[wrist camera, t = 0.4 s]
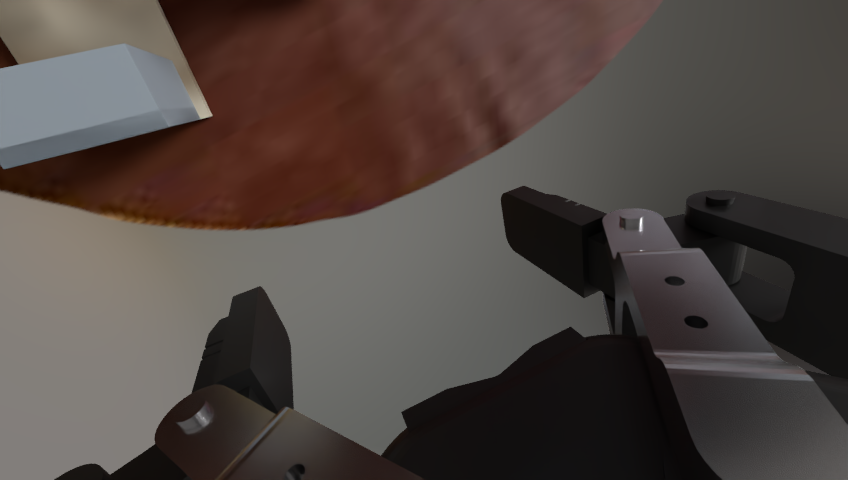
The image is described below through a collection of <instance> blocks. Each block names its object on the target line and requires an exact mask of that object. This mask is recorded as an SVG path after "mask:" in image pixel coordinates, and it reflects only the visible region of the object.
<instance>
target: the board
mask: <svg viewBox="0 0 848 480" xmlns="http://www.w3.org/2000/svg"><path fill="white" fill-rule="evenodd" d="M0 37H1V38H2V40H3V41H4V43H5V44H6V46H7V47H8V49H9V50H10V52H11V53H12V55H13V56H14V58H15V59H16V61H17V62H18V64H19V65H20V64H25V63H30V62H35V61H40V60H45V59H50V58H55V57H59V56H64V55H69V54H74V53H79V52H84V51H89V50H94V49H99V48H103V47H108V46H113V45H118V44H123V43H125V44H128V45H131V46H133V47H136V48H139V49H142V50H144V51H147V52H150V53H153V54H155V55H158V56H161V57H164V58H166V59H169V60H172V62H173V64H174V66H175V68H176V70H177V72H178V74H179V76H180V78H181V80H182V82H183V84H184V86H185V88H186V90H187V92H188V94H189V96H190V98H191V100H192V102H193V104H194V106H195V109H196V111H197V113H198V115H199V117H200V119H204V118H208V117H211V116H212V114H211V111H210V109H209V107H208V105H207V103H206V101H205V99H204V97H203V95H202V92H201V90H200V88H199V86H198V84H197V82H196V80H195V78H194V76H193V73H192V71H191V69H190V67H189V65H188V63H187V61H186V59H185V57H184V54H183V52H182V50H181V48H180V46H179V44H178V42H177V40H176V38H175V35H174V33H173V31H172V29H171V27H170V25H169V23H168V21H167V18H166V16H165V14H164V12H163V10H162V8H161V6H160V4H159V2H158V0H0ZM180 125H181V124H180ZM176 126H177V125H176ZM153 132H154V131H153ZM126 139H127V138H126ZM103 145H104V144H103ZM99 146H100V145H99Z"/></svg>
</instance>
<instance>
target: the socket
mask: <svg viewBox="0 0 848 480" xmlns="http://www.w3.org/2000/svg"><path fill="white" fill-rule="evenodd" d="M196 120H200V117H199V115H198V113H197V111H196V109H195V106H194V104H193V102H192V100H191V98H190V96H189V94H188V92H187V90H186V88H185V86H184V84H183V82H182V80H181V78H180V76H179V74H178V72H177V70H176V68H175V66H174V64H173V62H172V60H169V59H166V58H164V57H161V56H158V55H155V54H153V53H150V52H147V51H144V50H142V49H139V48H136V47H133V46H131V45H128V44H125V43H123V44H118V45H113V46H108V47H103V48H99V49H94V50H89V51H84V52H79V53H74V54H69V55H64V56H59V57H55V58H50V59H45V60H40V61H35V62H30V63H25V64H20V65H15V66H10V67H6V68H1V69H0V165H1V166H2V168H3V169H7V168H12V167H16V166H20V165H24V164H28V163H32V162H36V161H40V160H44V159H48V158H52V157H56V156H60V155H64V154H68V153H72V152H76V151H80V150H84V149H88V148H92V147H96V146H99V145H103V144H107V143H111V142H115V141H119V140H123V139H126V138H130V137H134V136H138V135H142V134H146V133H150V132H153V131H157V130H161V129H165V128H169V127H173V126H176V125H180V124H184V123H188V122H192V121H196Z"/></svg>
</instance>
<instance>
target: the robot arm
mask: <svg viewBox="0 0 848 480" xmlns="http://www.w3.org/2000/svg"><path fill="white" fill-rule="evenodd" d="M501 205H502V212H503V219H504V226H505V232H506V238H507V241H508V243H509V245H510V246H511V248H512V249H513V250H514V251H515V252H516V253H518V254H519V255H521V256H522V257H524V258H525V259H527V260H528V261H530V262H531V263H533V264H534V265H536V266H537V267H539V268H540V269H542V270H543V271H545V272H546V273H547V274H549V275H551V276H552V277H553V278H555V279H556V280H558V281H559V282H561V283H562V284H564V285H565V286H567V287H568V288H570V289H571V290H573V291H574V292H576V293H577V294H579V295H580V296H582V297H583V298H585V297H587V296H589V295H591V294H594V293H596V292H598V291H602V292H603V305H604V310H605V314H606V319H607V323H608V327H609V332H610V334H609V335H596V336H589V337H583V336H582V335H580V334H579V333H578V332H577V331H575V330H574V329H573V328H572V327H569V328H567V329H566V330H563V331H561V332H559V333H557V334H555V335H553V336H551V337H549V338H547V339H545V340H543V341H541V342H539V343H537V344H535V345H533V346H532V347H531V348H530V349H529V350H528V351H526V352H525V353H524V354H523V355H522V356H520V357H519V358H518V359H517V360H516V361H515V362H514V363H512V364H511V365H510V366H509V367H508V368H507V369H506V370H504V371H503V372H502V373H501V374H499V375H498V376H495V377H492V378H488V379H484V380H481V381H477V382H473V383H469V384H465V385H461V386H457V387H454V388H449V389H446V390H444V391H442V392H440V393H438V394H436V395H435V396H432V397H430V398H428V399H426V400H424V401H423V402H421V403H418V404H416V405H414V406H413V407H410V408H409V409H407V410H405V411H403V412H402V415H403V418H404V420H405V423H406V426H407V428H406V429H405V430H404V431H403V432H402V433H400V434H399V435H398V436H397V437H396V438H395V439H394V440H393V442H392V443H391V444H390V445H389V446H388V447H387V449H386V450H385V451H384V453H383V454H382V455H381V456H380V455H378V454H376V453H374V452H372V451H371V450H368V449H367V448H364V447H363V446H361V445H359V444H357V443H355V442H354V441H352V440H350V439H348V438H346V437H344V436H342V435H340V434H338V433H337V432H334V431H333V430H331V429H329V428H327V427H325V426H323V425H321V424H320V423H318V422H316V421H314V420H312V419H310V418H308V417H306V416H305V415H303V414H301V413H299V412H297V411H295V410H294V407H293V385H292V364H291V345H290V340H289V337H288V334H287V332H286V329H285V327H284V325H283V323H282V322H281V320H280V318H279V316H278V314H277V312H276V310H275V309H274V307H273V305H272V303H271V301H270V299H269V298H268V296H267V294H266V292H265V291H264V289H263V288H262V287H260V286H259V287H257V288H254V289H252V290H249V291H247V292H244V293H241V294H238V295H236V296H234V297H233V299H232V303H231V308H230V312H229V316H228V317H226V318H223V319H221V320H219V322H218V323H217V324H216V325H215V327H214V328H213V329H212V331H211V332H210V333H209V335H208V338H207V342H206V345H205V348H206V349H205V350H204V352H203V356H202V359H203V360H202V361H201V363H200V366H199V370H198V373H197V376H196V380H195V383H194V387H193V390H192V394H190V395H189V396H187V397H186V398H184V399H183V400H181V401H180V402H179V403H178V404H177V405H175V406H174V407H173V408H172V409H171V410H170V411H169V412H168V413H167V415H166V416H165V417H164V418H163V420H162V421H161V423H160V424H159V426H158V428H157V430H156V433H155V445H153V446H152V447H151V448H149V449H148V450H146V451H145V452H143V453H142V454H140V455H139V456H138V457H136V458H134V459H133V460H131V461H130V462H128V463H127V464H125V465H124V466H123V467H121V468H120V469H118V470H117V471H115V472H114V473H112V474H111V475H110V474H108V473H107V472H106V471H105V470H104V469H103V468H102V467H101V466H99V465H97V464H86V465H82V466H79V467H77V468H74V469H72V470H70V471H68V472H66V473H64V474H63V475H61V476H60V477H58V478H56V479H55V480H848V219H846V218H842V217H838V216H833V215H830V214H826V213H821V212H817V211H813V210H809V209H805V208H801V207H797V206H792V205H789V204H785V203H781V202H776V201H772V200H768V199H764V198H760V197H756V196H752V195H748V194H744V193H739V192H734V191H725V190H712V191H704V192H699V193H696V194H693V195H691V196H689V197H688V198H687V200H686V209H685V214H682V215H677V216H673V217H668V218H663V217H662V216H661V215H659V214H658V213H656V212H653V211H650V210H646V209H637V208H635V209H634V208H630V209H621V210H616V211H613V212H610V213H608V214H606V213H604V212H601V211H598V210H595V209H593V208H590V207H587V206H585V205H582V204H580V205H579V204H578V203H576V202H574V201H569V200H568V199H566V198H563V197H560V196H557V195H549V194H544V193H542V192H539V191H536V190H534V189H531V188H528V187H526V186H522V187H519V188H516V189H514V190H511V191H509V192H506V193H503V195H502V197H501ZM747 247H750V248H753V249H755V250H758V251H761V252H764V253H766V254H769V255H772V256H775V257H778V258H780V259H782V260H784V261H786V262H787V263H788V264H789V265H790V266H791V268H792V269H793V271H794V274H795V279H794V282H793V286H792V289H791V291H788V290H785V289H783V288H781V287H779V286H776V285H774V284H772V283H769V282H767V281H765V280H762V279H760V278H757V277H755V276H753V275H750V274H748V273H745V272H743V271H742V269H743V264H744V259H745V254H746V250H747ZM766 340H767V341H769V342H771V343H773V344H774V345H776V346H778V347H780V348H782V349H784V350H786V351H787V352H789V353H791V354H793V355H794V356H796V357H798V358H800V359H802V360H804V361H805V362H807V363H809V364H811V365H813V366H815V367H816V368H818V369H820V370H822V371H824V372H826V373H827V374H829V375H825V374H820V373H815V372H811V371H805V370H803V369H802V368H800V367H799V366H797V365H795V364H791V363H786V362H784V361H783V360H781V359H780V358H779V357H778V356H777V355H776V353H775V352H774V350H773V349H772V348H771V346H770V345H769V343H768V342H767V341H766ZM830 375H831V376H830Z"/></svg>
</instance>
